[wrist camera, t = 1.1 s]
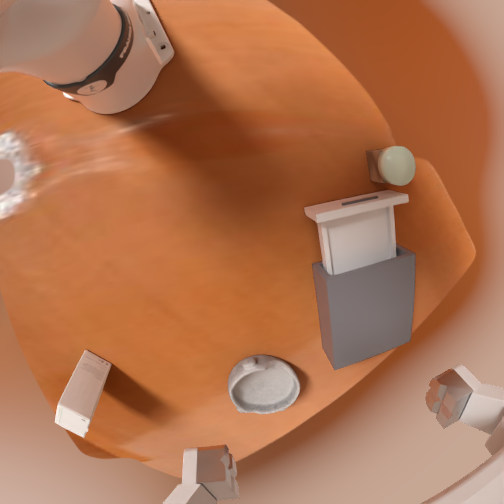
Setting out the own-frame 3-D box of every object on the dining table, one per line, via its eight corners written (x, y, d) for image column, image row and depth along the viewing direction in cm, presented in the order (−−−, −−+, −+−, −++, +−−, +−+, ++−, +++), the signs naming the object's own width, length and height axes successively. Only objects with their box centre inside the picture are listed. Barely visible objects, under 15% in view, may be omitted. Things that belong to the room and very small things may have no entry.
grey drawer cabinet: (311, 263, 46) (326, 280, 40) (393, 241, 47) (415, 253, 40) (322, 347, 52) (334, 370, 46) (393, 323, 53) (410, 341, 46)
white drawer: (303, 205, 43) (315, 212, 38) (388, 187, 44) (408, 192, 38) (319, 307, 49) (330, 324, 44) (393, 283, 50) (410, 296, 44)
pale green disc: (375, 148, 38) (381, 147, 36) (405, 144, 38) (412, 144, 36) (380, 186, 39) (387, 188, 38) (410, 181, 40) (417, 182, 38)
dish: (235, 346, 50) (236, 363, 45) (305, 354, 53) (312, 370, 48) (220, 398, 54) (221, 415, 49) (283, 403, 57) (287, 419, 52)
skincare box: (86, 348, 47) (56, 401, 32) (114, 364, 49) (92, 420, 34) (78, 371, 49) (52, 422, 34) (104, 386, 51) (84, 440, 36)
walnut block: (366, 151, 41) (378, 150, 38) (390, 147, 42) (403, 147, 38) (370, 180, 43) (383, 183, 39) (394, 176, 43) (407, 178, 39)
